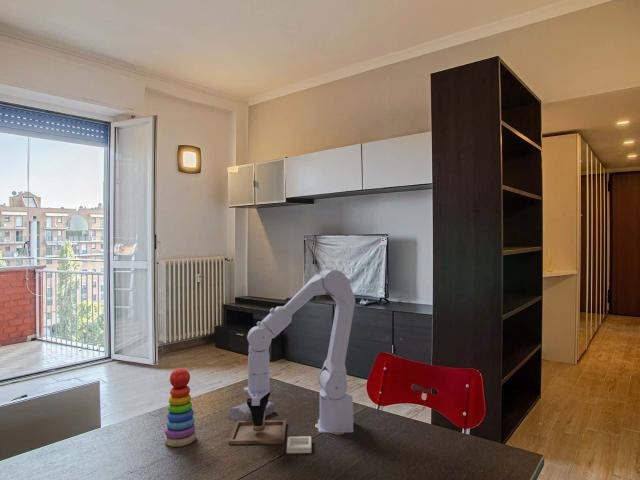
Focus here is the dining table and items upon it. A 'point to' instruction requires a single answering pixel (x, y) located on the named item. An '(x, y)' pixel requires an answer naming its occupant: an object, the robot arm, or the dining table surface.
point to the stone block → (247, 412)
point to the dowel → (260, 428)
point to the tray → (258, 433)
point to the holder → (299, 444)
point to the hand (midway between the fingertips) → (258, 422)
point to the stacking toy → (180, 411)
